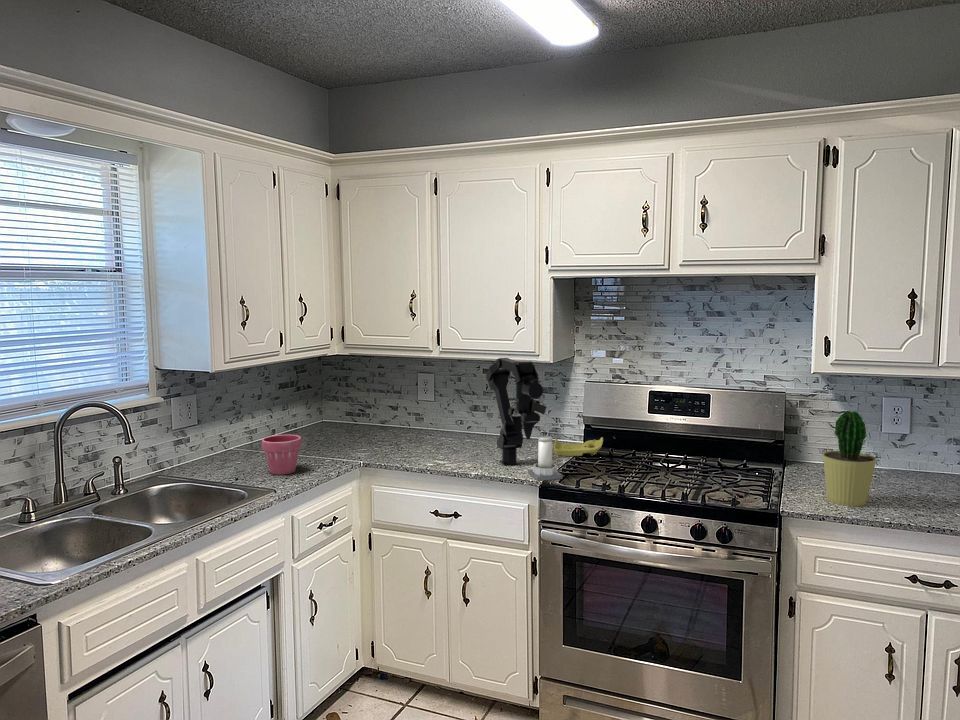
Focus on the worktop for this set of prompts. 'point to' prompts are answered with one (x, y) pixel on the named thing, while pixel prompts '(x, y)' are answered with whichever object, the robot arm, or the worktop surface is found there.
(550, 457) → the white cylinder
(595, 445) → the plastic component
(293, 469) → the plant pot
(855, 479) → the potted cactus
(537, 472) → the duct collar
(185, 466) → the worktop surface
